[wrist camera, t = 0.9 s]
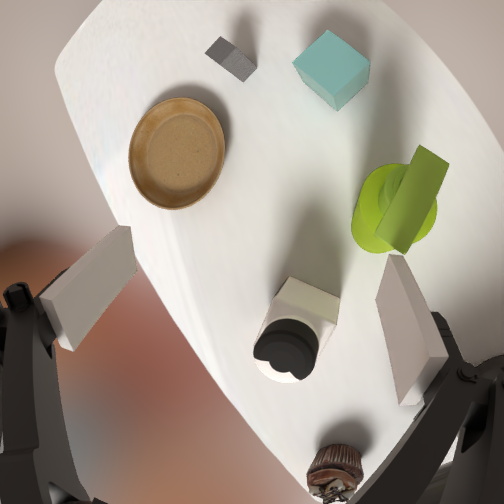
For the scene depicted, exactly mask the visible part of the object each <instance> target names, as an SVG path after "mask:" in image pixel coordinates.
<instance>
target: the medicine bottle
mask: <svg viewBox="0 0 504 504" xmlns="http://www.w3.org/2000/svg"><path fill="white" fill-rule="evenodd" d="M339 307H340V298H338V297H336V296H334V295H331V294H329V293H327V292H324V291H322V290H320V289H318V288H315V287H313V286H311V285H309V284H306V283H304V282H302V281H300V280H297V279H295V278H293V277H288V278H287V279H286V281H285V282H284V284H283V285H282V286H281V288H280V289H279V291H278V292H277V294H276V295H275V296H274V298H273V300H272V303H271V305H270V308H269V310H268V312H267V315H266V317H265V320H264V322H263V324H262V327H261V329H260V331H259V334H258V336H257V338H256V341H255V343H254V351H253V355H254V360H255V363H256V365H257V366H258V368H259V369H260V370H261V371H262V372H263V373H264V374H265V375H266V376H267V377H269V378H271V379H273V380H275V381H279V382H284V383H291V382H297V381H300V380H302V379H304V378H306V377H307V376H308V375H309V374H310V373H311V372H312V370H313V368H314V366H315V363H316V361H317V359H318V358H319V356H320V354H321V352H322V351H323V349H324V347H325V345H326V344H327V342H328V340H329V338H330V337H331V335H332V333H333V331H334V329H335V327H336V326H337V320H338V314H339Z"/></svg>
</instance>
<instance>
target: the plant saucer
mask: <svg viewBox="0 0 504 504" xmlns="http://www.w3.org/2000/svg"><path fill="white" fill-rule="evenodd" d="M128 158H129V169H130V173H131V177H132V180H133V182H134V184H135V186H136V188H137V190H138V191H139V192H140V194H141V195H142V196H143V197H144V198H145V199H146V200H147V201H148V202H150V203H151V204H153V205H155V206H157V207H159V208H163V209H168V210H178V209H183V208H187V207H189V206H192V205H193V204H195V203H197V202H198V201H200V200H201V199H202V198H204V197H205V196H206V195H207V194H208V193H209V192H210V190H211V189H212V188H213V186H214V185H215V183H216V181H217V180H218V178H219V175H220V173H221V170H222V167H223V163H224V158H225V140H224V134H223V130H222V127H221V125H220V122H219V120H218V119H217V117H216V116H215V114H214V113H213V112H212V111H211V110H210V109H209V108H208V107H207V106H206V105H204V104H203V103H201V102H199V101H197V100H194V99H192V98H186V97H177V98H171V99H167V100H164V101H162V102H160V103H158V104H157V105H155V106H153V107H152V108H151V109H150V110H149V111H148V112H147V113H146V114H145V115H144V116H143V117H142V118H141V120H140V121H139V123H138V124H137V126H136V128H135V130H134V132H133V135H132V138H131V142H130V146H129V157H128Z"/></svg>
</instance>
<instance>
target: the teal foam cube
mask: <svg viewBox="0 0 504 504" xmlns="http://www.w3.org/2000/svg"><path fill="white" fill-rule="evenodd" d="M292 63H293V65H294V67H295V68H296V70H297V72H298V74H299V75H300V77H301V79H302V81H303V82H304V83H305V84H306V85H307V86H308V87H310V88H311V89H312V90H313V91H314V92H315V93H317V94H318V95H319V96H320V97H321V98H322V99H323V100H325V101H326V102H327V103H328V104H329V105H330V106H331V107H332V108H333V109H335V110H336V111H337V112H338V111H339V110H340V109H341V108H342V107H343V106H344V105H345V104H346V103H347V102H348V101H349V100H350V99H351V98H352V97H353V96H355V95H356V94H357V93H358V92H359V91H360V90H361V89H362V88H363V87H364V86H365V85H366V84H367V83H368V78H369V70H370V61H369V60H367V59H366V58H365V57H364V56H362V55H361V54H360V53H359V52H358V51H356V50H355V49H354V48H352V47H351V46H350V45H349V44H347V43H346V42H345V41H343V40H342V39H341V38H339V37H338V36H336V35H335V34H334V33H332V32H331V31H329V30H327V31H326V32H325V33H324V34H322V35H321V36H320V37H319V38H318V39H317V40H316V41H315V42H314V43H312V44H311V45H310V46H309V47H308V48H307V49H306V50H305V51H304V52H303V53H302V54H301V55H299V56H298V57H297V58H296V59H295V60H294V61H293V62H292Z"/></svg>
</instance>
